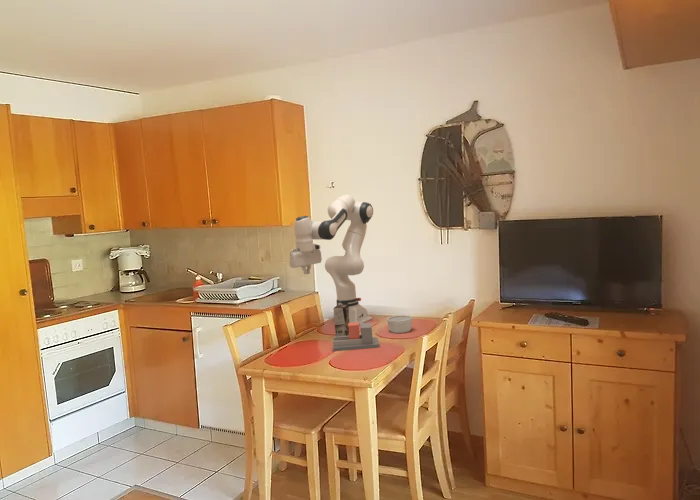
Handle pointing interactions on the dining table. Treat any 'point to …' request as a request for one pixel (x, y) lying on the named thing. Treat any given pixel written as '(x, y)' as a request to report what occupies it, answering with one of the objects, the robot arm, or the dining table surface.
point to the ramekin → (400, 323)
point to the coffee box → (341, 320)
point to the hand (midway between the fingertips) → (306, 274)
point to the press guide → (357, 340)
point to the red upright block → (354, 330)
